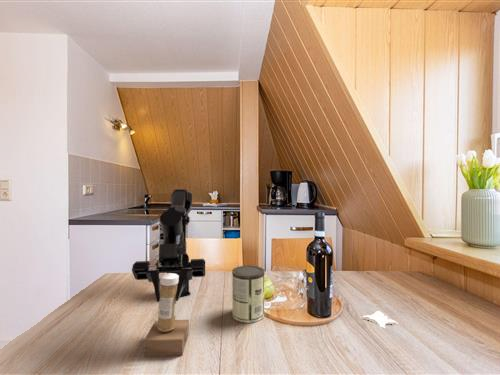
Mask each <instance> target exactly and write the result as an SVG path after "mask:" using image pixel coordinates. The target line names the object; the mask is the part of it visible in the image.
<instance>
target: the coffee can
mask: <svg viewBox="0 0 500 375" xmlns="http://www.w3.org/2000/svg"><path fill="white" fill-rule="evenodd" d="M231 272H232V313H231V314H232V318H233V319H234V320H235V321H237V322H240V323H245V324H247V323H248V324H251V323H256V322H259V321H261V320H263V319H264V317H265V272H266V271H265V268H262V267H261V266H256V265H239V266H236V267H234V268H233V269H232V270H231Z"/></svg>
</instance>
